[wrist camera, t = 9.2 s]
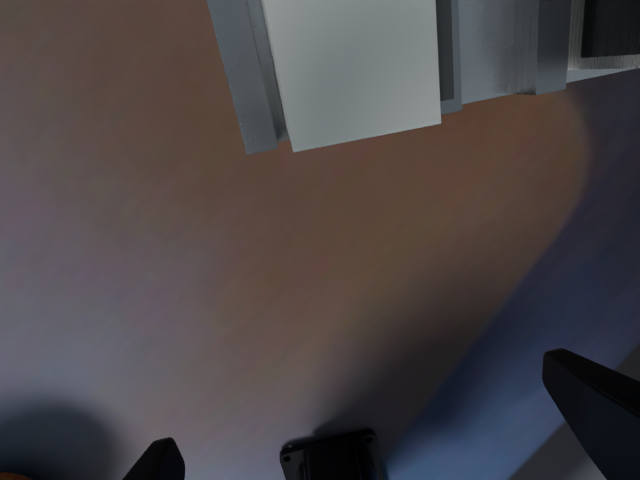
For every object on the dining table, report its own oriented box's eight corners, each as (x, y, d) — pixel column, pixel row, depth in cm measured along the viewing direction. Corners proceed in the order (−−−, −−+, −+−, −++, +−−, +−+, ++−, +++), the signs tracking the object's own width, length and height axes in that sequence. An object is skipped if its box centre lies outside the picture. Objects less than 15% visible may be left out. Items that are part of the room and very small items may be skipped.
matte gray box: (257, -19, 14) (247, -82, 8) (384, -42, 14) (456, -118, 8) (286, 125, 16) (293, 152, 10) (397, 104, 16) (462, 118, 10)
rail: (660, 55, 19) (932, 40, 11) (251, 139, 18) (236, 185, 10) (683, -100, 16) (1051, -258, 9) (215, -10, 16) (159, -93, 8)
